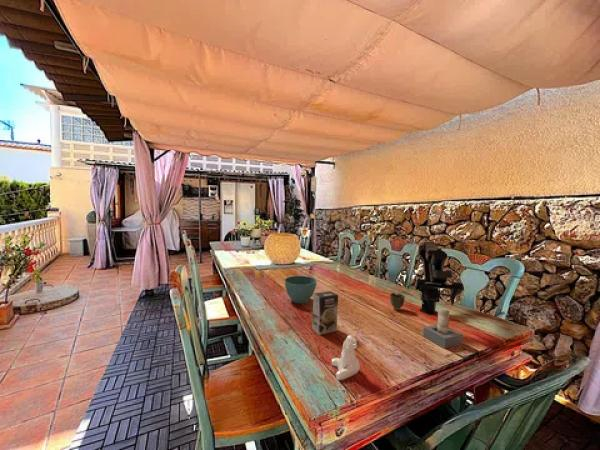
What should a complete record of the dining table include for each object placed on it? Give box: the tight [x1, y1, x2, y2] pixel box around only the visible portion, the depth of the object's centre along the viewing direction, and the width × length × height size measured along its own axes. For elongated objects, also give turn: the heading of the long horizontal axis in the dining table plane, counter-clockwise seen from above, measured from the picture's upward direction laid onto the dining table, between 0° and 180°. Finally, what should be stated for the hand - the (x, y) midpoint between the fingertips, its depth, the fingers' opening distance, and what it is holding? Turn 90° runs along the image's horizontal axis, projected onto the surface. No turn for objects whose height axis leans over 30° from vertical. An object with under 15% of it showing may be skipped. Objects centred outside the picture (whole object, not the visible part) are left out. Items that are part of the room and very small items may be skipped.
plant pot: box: [284, 275, 317, 304], centre depth 148 cm, size 18×18×12 cm
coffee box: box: [311, 291, 339, 336], centre depth 112 cm, size 9×6×16 cm
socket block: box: [422, 324, 464, 349], centre depth 106 cm, size 10×10×4 cm
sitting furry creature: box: [331, 334, 361, 381], centre depth 84 cm, size 10×9×12 cm
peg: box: [436, 308, 450, 335], centre depth 106 cm, size 4×4×12 cm
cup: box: [389, 292, 406, 311], centre depth 138 cm, size 8×7×8 cm
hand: (440, 303), depth 111 cm, fingers open, 9 cm apart
